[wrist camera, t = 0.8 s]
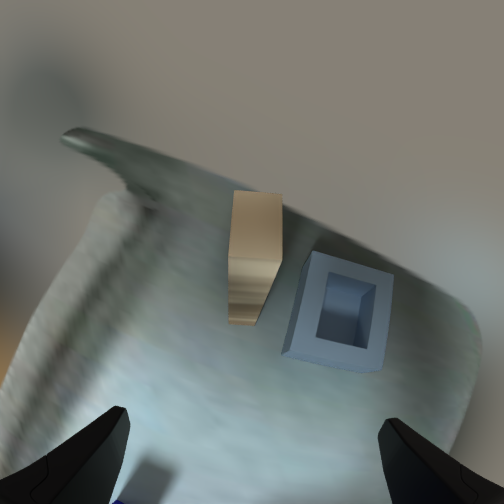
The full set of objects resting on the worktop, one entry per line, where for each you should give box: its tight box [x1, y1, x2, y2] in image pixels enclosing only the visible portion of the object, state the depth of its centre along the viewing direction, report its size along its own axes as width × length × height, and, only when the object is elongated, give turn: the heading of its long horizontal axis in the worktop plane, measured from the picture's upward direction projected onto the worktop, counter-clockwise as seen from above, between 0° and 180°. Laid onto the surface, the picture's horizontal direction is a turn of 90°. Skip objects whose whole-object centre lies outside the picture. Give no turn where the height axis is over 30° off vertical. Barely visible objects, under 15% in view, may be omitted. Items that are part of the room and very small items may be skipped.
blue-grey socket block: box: [281, 251, 394, 373], centre depth 22 cm, size 8×7×4 cm
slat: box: [228, 190, 282, 326], centre depth 18 cm, size 3×2×13 cm, turn 177°
